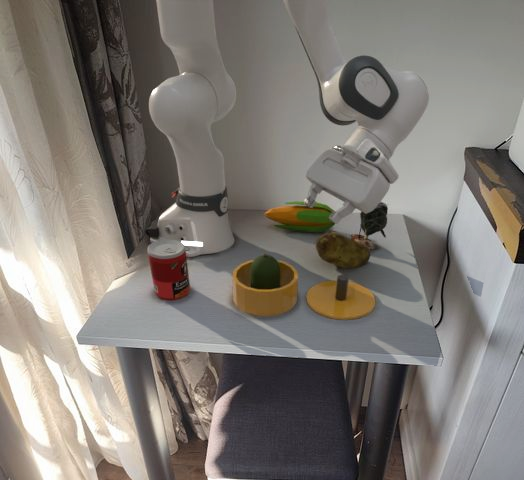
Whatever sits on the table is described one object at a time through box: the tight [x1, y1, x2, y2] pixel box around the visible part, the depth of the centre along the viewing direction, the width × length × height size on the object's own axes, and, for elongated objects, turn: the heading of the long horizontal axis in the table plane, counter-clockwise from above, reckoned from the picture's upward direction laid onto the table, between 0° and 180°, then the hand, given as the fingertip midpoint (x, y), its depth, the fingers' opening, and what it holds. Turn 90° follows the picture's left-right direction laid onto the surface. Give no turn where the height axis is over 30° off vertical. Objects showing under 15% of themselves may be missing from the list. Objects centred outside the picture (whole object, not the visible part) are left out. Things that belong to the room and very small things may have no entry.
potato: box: [315, 231, 371, 269], centre depth 110 cm, size 8×13×8 cm, turn 74°
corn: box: [264, 200, 336, 233], centre depth 127 cm, size 7×8×20 cm
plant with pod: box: [348, 201, 389, 250], centre depth 114 cm, size 8×11×20 cm
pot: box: [231, 259, 299, 317], centre depth 99 cm, size 14×14×6 cm
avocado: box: [250, 253, 281, 290], centre depth 97 cm, size 6×6×10 cm
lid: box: [305, 274, 376, 321], centre depth 98 cm, size 15×15×6 cm
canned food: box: [147, 240, 191, 301], centre depth 100 cm, size 8×8×11 cm
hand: (319, 213), depth 94 cm, fingers open, 8 cm apart
